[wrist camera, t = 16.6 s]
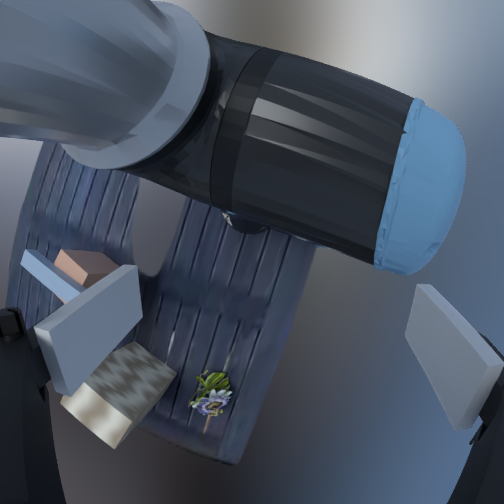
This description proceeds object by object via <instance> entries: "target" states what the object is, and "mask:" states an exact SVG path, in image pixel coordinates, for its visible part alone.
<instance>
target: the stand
mask: <svg viewBox="0 0 504 504" xmlns="http://www.w3.org/2000/svg"><path fill="white" fill-rule="evenodd" d="M176 375H177V373H176V372H175V371H174V370H172V369H171V368H169V367H168V366H167V365H165V364H164V363H163V362H161V361H160V360H159V359H157V358H156V357H155V356H153V355H152V354H151V353H149V352H148V351H147V350H145V349H144V348H143V347H141V346H140V345H139V344H138V343H136V342H135V341H134V342H132V343H130V344H128V345H126V346H124V347H122V348H120V349H118V350H116V351H114V352H112V353H111V354H109V355H108V356H107V357H106V358H105V359H104V360H103V361H102V362H101V364H100V365H99V366H98V367H97V368H96V369H95V370H94V371H93V373H92V374H91V375H90V376H89V377H88V378H87V379H86V381H85V382H84V383H83V384H82V385H81V386H80V387H79V389H78V390H77V391H76V392H75V393H74V394H73V396H72V397H69V396H66V395H64V396H63V398H62V400H61V404H62V405H63V406H64V407H65V408H66V409H67V410H68V411H69V412H70V413H71V414H73V415H74V416H75V417H76V418H77V419H78V420H80V422H82V423H83V424H84V425H85V426H86V427H87V428H89V429H90V430H91V431H92V432H94V433H95V434H96V435H97V436H98V437H99V438H101V439H102V440H103V441H104V442H106V443H107V444H108V445H110V446H111V447H112V448H114V449H115V448H116V447H117V446H118V445H119V444H120V443H121V442H122V440H123V439H124V438H125V437H126V436H127V435H128V434H129V433H130V432H131V431H132V430H133V428H134V427H135V426H136V425H137V424H138V423H139V422H140V421H141V420H142V418H143V417H144V416H145V415H146V414H147V413H148V412H149V411H150V410H151V408H152V407H153V406H154V405H155V404H156V403H157V402H158V401H159V399H160V398H161V397H162V396H163V394H164V393H165V391H166V390H167V388H168V387H169V385H170V384H171V382H172V381H173V379H174V378H175V376H176Z"/></svg>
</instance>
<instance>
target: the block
mask: <svg viewBox="0 0 504 504" xmlns="http://www.w3.org/2000/svg"><path fill="white" fill-rule="evenodd" d="M54 265H55V266H57V267H58V268H59V269H60V270H62V271H63V272H64V273H66V274H67V275H68V276H70V277H71V278H72V279H74V280H75V281H76V282H78V283H79V284H81V285H82V286H83V287H85V288H86V289H88V288H89V287H91V286H92V285H94V284H95V283H97V282H98V281H100V280H101V279H103V278H104V277H106V276H107V275H109V274H110V273H112V272H113V271H115V270H116V269H118V268H119V266H118V265H117V264H115V263H114V262H113V261H112V260H111V259H109V258H108V257H107V256H106V255H105V254H103V253H102V252H91V251H79V250H66V249H61V251H60V253H59V255H58V257H57V259H56V261H55V263H54ZM58 297H59V296H58ZM59 298H60V297H59ZM60 299H61V298H60ZM61 300H62V299H61ZM62 301H63V302H64V303H65V304H66V302H65V301H64V300H62Z"/></svg>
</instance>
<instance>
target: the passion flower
mask: <svg viewBox="0 0 504 504" xmlns="http://www.w3.org/2000/svg"><path fill="white" fill-rule="evenodd" d="M207 372H208V370H206V371H205V372H204V373H202V375H203V376H204V375H205V374H206V373H207ZM225 374H226V373H222V372H217V373H212V374H210V375H209V376H208V377H207V379H206V380H205V381H204V379H203V378H201V375H200V377H198V376H196V378H197V380H198V381H199V383H200V384H199V387H198V389H197V391H196V393H195V394H194V396H195V395H196V394H197V393H198V392H199V391H202V392H201V394H200V396H199V397H197V399H196V401H193V402H191V401H192V399H193V398H194V396H193V397H192V398H191V399H190V400H189V402H188V404H189V406H190V405H192V407H193V408H197V409H198V411H200V412H201V414H202V415H205V414H208V415H211V416H217V415H218V414H222V413H223V410H222V409H221V407H223V406H224V405H227V402H228V401H229V399H230V398H231V397H230V396H229V395H230V394H231V393H232V391H227V390H228V389H229V387H230V385H229V386H227V384H228V383H229V377H227V378H224V379H223V380H222V381H221V382H219V381H220V380H221V378H223V377H224V376H225ZM218 382H219V384H217V385H215V384H216V383H218ZM202 386H203V387H204V388H201V387H202ZM225 386H227V387H225ZM224 387H225V388H224ZM220 389H221V390H220ZM209 390H210V391H209ZM215 390H218V391H215ZM206 394H207V395H208V394H209V395H208V397H205V395H206ZM189 406H188V407H189ZM200 412H199V413H200Z"/></svg>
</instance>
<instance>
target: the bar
mask: <svg viewBox="0 0 504 504" xmlns="http://www.w3.org/2000/svg"><path fill="white" fill-rule="evenodd" d="M21 265H22V266H23V267H24V268H26V269H27V270H28V271H29V272H30V273H31V274H32V275H34V276H35V277H36V278H37V279H38V280H39V281H40V282H42V283H43V284H44V285H45V286H46V287H48V288H49V289H50V290H51V291H53V292H54V293H55V294H56V295H57V296H59V297H60V298H61V299H62V300H64V301H65V302H66V303H67V302H69V301H70V300H72V299H73V298H75V297H76V296H77V295H79V294H80V293H82V292H83V291H85V290H86V288H85V287H83V286H82V285H81V284H79V283H78V282H76V281H75V280H74V279H72V278H71V277H70V276H68V275H67V274H66V273H64V272H63V271H62V270H60V269H59V268H58V267H57V266H55V265H54V264H53V263H51V262H50V261H49V260H48V259H46V258H45V257H44V256H43V255H41V254H40V253H39V252H38V251H36V250H29V249H25V252H24V255H23V258H22V261H21Z"/></svg>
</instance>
